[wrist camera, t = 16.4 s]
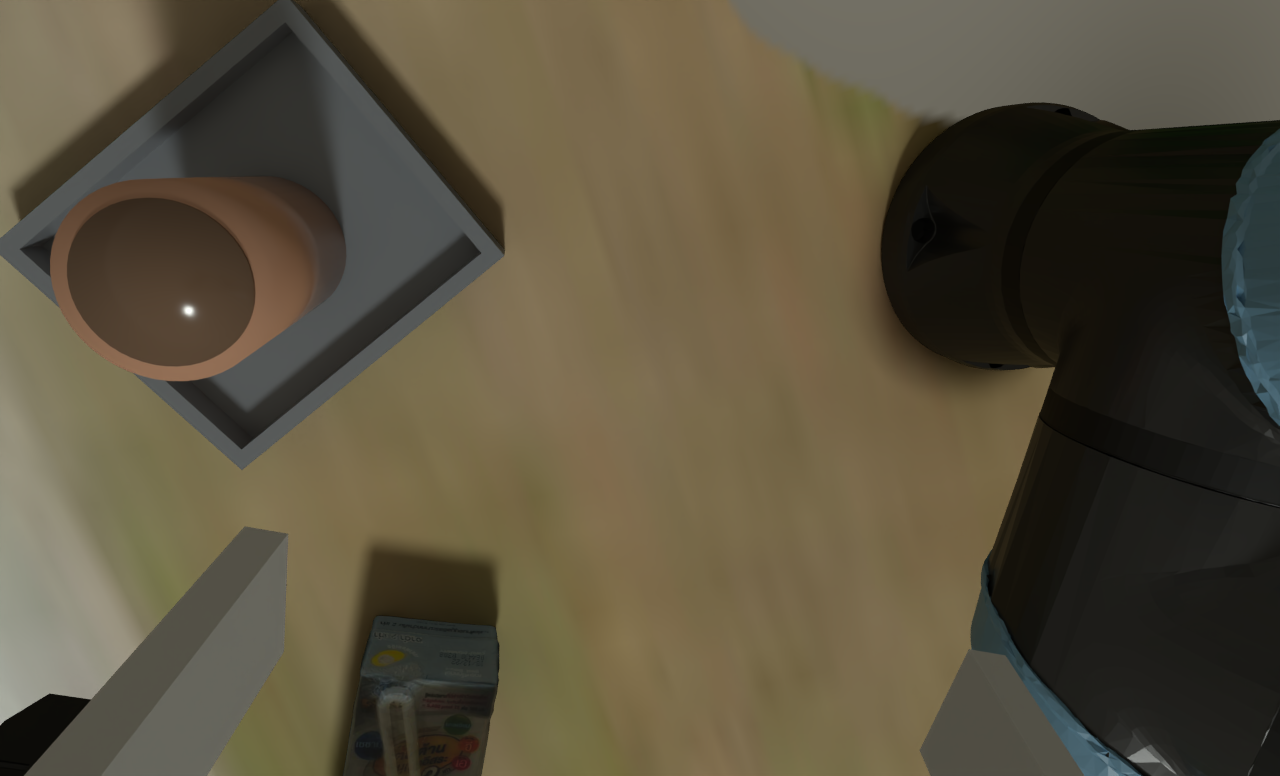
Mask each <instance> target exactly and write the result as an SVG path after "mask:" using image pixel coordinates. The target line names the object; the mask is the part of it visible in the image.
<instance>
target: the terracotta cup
mask: <svg viewBox="0 0 1280 776" xmlns="http://www.w3.org/2000/svg"><path fill="white" fill-rule="evenodd" d="M345 266H346V244H345V239H344V235H343V232H342V229H341V227H340V225H339V223H338V220H337V219H336V217H335V216H334V214H333V212H332V211H331V210H330V209H329V207H328V206H327V205H326V204H325V203H324V202H323V201H322V200H321V199H320V198H319V197H318V196H317V195H315V194H314V193H313V192H312V191H310V190H309V189H307V188H305V187H304V186H302V185H300V184H298V183H295V182H293V181H290V180H287V179H284V178H280V177H274V176H228V177H193V178H159V179H136V180H127V181H122V182H117V183H114V184H111V185H108V186H105V187H102V188H100V189H98V190H96V191H95V192H93V193H91V194H89V195H88V196H86V197H85V198H84V199H82V200H81V201H79V202H78V203H77V204H76V205H75V206H74V207H73V208H72V209H71V210H70V211H69V213H68V214H67V215H66V217H65V218H64V220H63V221H62V223H61V225H60V227H59V229H58V231H57V233H56V235H55V238H54V242H53V245H52V250H51V257H50V275H51V281H52V287H53V290H54V294H55V297H56V300H57V302H58V304H59V307H60V309H61V311H62V313H63V315H64V316H65V318H66V320H67V321H68V323H69V324H70V326H71V327H72V328H73V330H74V331H75V332H76V333H77V335H78V336H79V337H80V338H81V339H82V340H83V341H84V342H85V343H86V344H87V345H88V346H89V347H90V348H91V349H93V350H94V351H95V352H96V353H98V354H99V355H100V356H102V357H103V358H105V359H106V360H108V361H110V362H111V363H113V364H114V365H116V366H118V367H121V368H123V369H125V370H127V371H129V372H132V373H135V374H138V375H140V376H144V377H148V378H152V379H157V380H165V381H191V380H199V379H203V378H207V377H211V376H214V375H217V374H219V373H222V372H224V371H226V370H228V369H230V368H232V367H234V366H235V365H236V364H238V363H239V362H241V361H242V360H243V359H245V358H246V357H248V356H249V355H250V354H252V353H253V352H255V351H256V350H257V349H259V348H260V347H262V346H263V345H265V344H266V343H267V342H269V341H270V340H272V339H273V338H274V337H276V336H277V335H279V334H280V333H281V332H283V331H284V330H286V329H287V328H288V327H290V326H291V325H293V324H294V323H295V322H297V321H298V320H300V319H301V318H303V317H304V316H305V315H307V314H308V313H310V312H311V311H312V310H314V309H315V308H317V307H318V306H319V305H321V304H322V303H324V302H325V301H326V300H327V299H328V298H329V297H330V296H331V295H332V294H333V292H334V291H335V290H336V288H337V287H338V285H339V283H340V281H341V279H342V276H343V274H344V270H345Z"/></svg>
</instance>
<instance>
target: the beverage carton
mask: <svg viewBox="0 0 1280 776" xmlns="http://www.w3.org/2000/svg"><path fill="white" fill-rule="evenodd" d="M498 672H499V642H498V640H497V632H496V628H495V627H493V626H487V625H471V624H458V623H448V622H438V621H428V620H419V619H408V618H401V617H391V616H376V617H375V619H374V620H373V626H372V630H371V631H370V634H369V638H368V641H367V644H366V648H365V652H364V655H363V658H362V662H361V668H360V681H359V686H358V691H357V695H356V699H355V702H354V708H353V717H352V723H351V729H350V734H349V742H348V749H347V755H346V761H345V766H344V772H343V776H481V774H482V769H483V763H484V757H485V752H486V746H487V740H488V734H489V726H490V718H491V716H492V714H493V711H494V702H495V699H496V695H497V688H498V681H499V679H498Z"/></svg>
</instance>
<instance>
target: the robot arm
mask: <svg viewBox="0 0 1280 776" xmlns="http://www.w3.org/2000/svg"><path fill="white" fill-rule="evenodd" d="M882 270H883V278H884V282H885V287H886V290H887V294H888V297H889V300H890V302H891V305H892V307H893V309H894V311H895V313H896V314H897V316H898V318H899V320H900V321H901V322H902V324H903V325H904V327H905V328H906V329H907V330H908V331H909V333H910V334H911V335H912V336H913V337H914V338H916V339H917V340H918V341H919V342H920V343H921V344H923V345H924V346H926V347H927V348H929V349H931V350H932V351H934V352H936V353H938V354H940V355H942V356H945V357H947V358H949V359H952V360H954V361H956V362H959V363H962V364H964V365H967V366H971V367H975V368H981V369H986V370H1015V369H1023V368H1028V367H1034V368H1050V367H1055V370H1054V373H1053V376H1052V379H1051V382H1050V385H1049V388H1048V391H1047V394H1046V397H1045V400H1044V403H1043V406H1042V409H1041V412H1040V413H1039V416H1038V419H1037V422H1036V425H1035V428H1034V431H1033V434H1032V437H1031V440H1030V443H1029V446H1028V449H1027V452H1026V455H1025V458H1024V461H1023V464H1022V467H1021V470H1020V473H1019V476H1018V479H1017V482H1016V484H1015V487H1014V490H1013V493H1012V496H1011V498H1010V501H1009V504H1008V507H1007V510H1006V513H1005V515H1004V518H1003V521H1002V524H1001V527H1000V529H999V532H998V535H997V538H996V541H995V543H994V546H993V549H992V550H991V551H990V553H989V555H988V556H987V558H986V560H985V561H984V564H983V567H982V572H981V587H982V588H981V592H980V595H979V599H978V602H977V606H976V610H975V613H974V617H973V621H972V625H971V647H972V650H970V649H969V650H968V652H967V654H966V656H965V658H964V661H963V663H962V665H961V667H960V669H959V671H958V673H957V675H956V677H955V679H954V681H953V683H952V685H951V687H950V689H949V691H948V693H947V695H946V698H945V700H944V702H943V704H942V706H941V708H940V710H939V712H938V714H937V716H936V718H935V720H934V722H933V724H932V726H931V728H930V730H929V732H928V734H927V737H926V739H925V741H924V743H923V745H922V747H921V749H920V752H921V754H922V757H923V759H924V761H925V764H926V766H927V768H928V771H929V773H930V775H931V776H1280V120H1276V121H1261V122H1246V123H1233V124H1217V125H1203V126H1188V127H1174V128H1159V129H1146V130H1128V129H1125V128H1123V127H1121V126H1118V125H1115V124H1113V123H1110V122H1107V121H1104V120H1099V119H1097V118H1096V117H1094V116H1093V115H1090V114H1088V113H1086V112H1083V111H1081V110H1078V109H1076V108H1073V107H1069V106H1065V105H1060V104H1052V103H1025V104H1016V105H1008V106H1002V107H995V108H991V109H987V110H984V111H981V112H979V113H975V114H973V115H971V116H969V117H967V118H965V119H963V120H961V121H959V122H957V123H956V124H954V125H953V126H951V127H949V128H948V129H947V130H945V131H944V132H943V133H941V134H940V135H939V136H938V137H937V138H935V139H934V140H933V141H932V142H931V143H930V144H929V145H928V146H927V147H926V148H925V149H924V150H923V151H922V153H921V154H920V155H919V156H918V157H917V159H916V160H915V161H914V162H913V164H912V165H911V167H910V168H909V169H908V171H907V172H906V174H905V176H904V177H903V179H902V181H901V183H900V185H899V187H898V189H897V191H896V193H895V195H894V198H893V200H892V203H891V205H890V208H889V211H888V215H887V218H886V223H885V227H884V233H883V240H882ZM287 553H288V534H286V533H280V532H274V531H268V530H262V529H257V528H251V527H244V528H243V529H242V530H241V531H240V532H239V534H238V535H237V536H236V537H235V538H234V539H233V540H232V542H231V543H230V544H229V545H228V546H227V547H226V548H225V549H224V551H223V552H222V553H221V554H220V555H219V556H218V557H217V558H216V560H215V561H214V562H213V563H212V564H211V565H210V566H209V567H208V569H207V570H206V571H205V572H204V573H203V574H202V575H201V577H200V578H199V579H198V580H197V581H196V582H195V583H194V584H193V586H192V587H191V588H190V589H189V590H188V591H187V592H186V593H185V595H184V596H183V597H182V598H181V599H180V600H179V601H178V602H177V604H176V605H175V606H174V607H173V608H172V609H171V610H170V611H169V613H168V614H167V615H166V616H165V617H164V618H163V619H162V621H161V622H160V623H159V624H158V625H157V626H156V627H155V628H154V630H153V631H152V632H151V633H150V634H149V635H148V636H147V637H146V639H145V640H144V641H143V642H142V643H141V644H140V645H139V646H138V648H137V649H136V650H135V651H134V652H133V653H132V654H131V656H130V657H129V658H128V659H127V660H126V661H125V662H124V663H123V665H122V666H121V667H120V668H119V669H118V670H117V671H116V672H115V674H114V675H113V676H112V677H111V678H110V679H109V680H108V681H107V683H106V684H105V685H104V686H103V687H102V688H101V689H100V690H99V692H98V693H97V694H96V695H95V696H94V697H93V698H92V700H90V699H83V698H76V697H69V696H62V695H56V694H48V695H47V696H45V697H43V698H42V699H40V700H38V701H37V702H35V703H33V704H32V705H30V706H28V707H27V708H25V709H24V710H22V711H20V712H19V713H17V714H15V715H14V716H12V717H10V718H9V719H7V720H6V721H4V722H3V723H2V724H1V725H0V776H207V775H208V773H209V771H210V770H211V768H212V766H213V765H214V763H215V762H216V760H217V758H218V757H219V755H220V754H221V752H222V750H223V749H224V747H225V746H226V744H227V742H228V741H229V739H230V737H231V736H232V734H233V733H234V731H235V729H236V728H237V726H238V725H239V723H240V721H241V720H242V718H243V716H244V715H245V713H246V712H247V710H248V708H249V707H250V705H251V704H252V702H253V700H254V699H255V697H256V696H257V694H258V692H259V691H260V689H261V687H262V686H263V684H264V683H265V681H266V679H267V678H268V676H269V675H270V673H271V671H272V670H273V668H274V666H275V665H276V663H277V662H278V660H279V658H280V657H281V655H282V654H283V652H284V633H285V606H286V579H287Z"/></svg>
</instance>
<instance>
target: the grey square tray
mask: <svg viewBox="0 0 1280 776" xmlns="http://www.w3.org/2000/svg"><path fill="white" fill-rule="evenodd" d="M228 176H274V177H280V178H284V179H287V180H290V181H293V182H295V183H298V184H300V185H302V186H304V187H305V188H307V189H309V190H310V191H312V192H313V193H314V194H315V195H317V196H318V197H319V198H320V199H321V200H322V201H323V202H324V203H325V204H326V205H327V206H328V207H329V209H330V210H331V211H332V212H333V214H334V216H335V217H336V219H337V220H338V223H339V225H340V227H341V229H342V232H343V235H344V239H345V244H346V266H345V270H344V274H343V276H342V279H341V281H340V283H339V285H338V287H337V288H336V290H335V291H334V292H333V294H332V295H331V296H330V297H329V298H328V299H327V300H326V301H325V302H324V303H322V304H321V305H319V306H318V307H317V308H315V309H314V310H312V311H311V312H310V313H308V314H307V315H305V316H304V317H303V318H301V319H300V320H298V321H297V322H295V323H294V324H293V325H291V326H290V327H288V328H287V329H286V330H284V331H283V332H281V333H280V334H279V335H277V336H276V337H274V338H273V339H272V340H270V341H269V342H267V343H266V344H265V345H263V346H262V347H260V348H259V349H257V350H256V351H255V352H253V353H252V354H250V355H249V356H248V357H246V358H245V359H243V360H242V361H241V362H239V363H238V364H236V365H235V366H234V367H232V368H230V369H228V370H226V371H224V372H222V373H219V374H217V375H214V376H211V377H207V378H203V379H199V380H191V381H165V380H157V379H152V378H148V377H144V376H140V375H138V374H135V373H134V374H135V375H136V376H137V377H138V378H139V379H140V380H141V381H143V382H144V383H145V384H146V385H147V386H148V387H149V388H150V389H152V390H153V391H154V392H155V393H156V394H157V395H158V396H159V397H160V398H162V399H163V400H164V401H165V402H166V403H167V404H168V405H169V406H171V407H172V408H173V409H174V410H175V411H176V412H177V413H178V414H180V415H181V416H182V417H183V418H184V419H185V420H186V421H187V422H189V423H190V424H191V425H192V426H193V427H194V428H195V429H196V430H198V431H199V432H200V433H201V434H202V435H203V436H204V437H205V438H207V439H208V440H209V441H210V442H211V443H212V444H213V445H214V446H216V447H217V448H218V449H219V450H220V451H221V452H222V453H223V454H225V455H226V456H227V457H228V458H229V459H230V460H231V461H232V462H233V463H235V464H236V465H237V466H238V467H239V468H240V469H241V470H242V469H244V468H245V467H246V466H247V465H249V464H250V463H251V462H252V461H253V460H255V459H256V458H257V457H258V456H260V455H261V454H262V453H263V452H265V451H266V450H267V449H268V448H269V447H271V446H272V445H273V444H274V443H276V442H277V441H278V440H279V439H280V438H282V437H283V436H284V435H285V434H287V433H288V432H289V431H290V430H291V429H293V428H294V427H295V426H296V425H298V424H299V423H300V422H301V421H302V420H304V419H305V418H306V417H307V416H309V415H310V414H311V413H312V412H313V411H315V410H316V409H317V408H318V407H320V406H321V405H322V404H323V403H325V402H326V401H327V400H328V399H329V398H331V397H332V396H333V395H334V394H336V393H337V392H338V391H339V390H340V389H342V388H343V387H344V386H345V385H347V384H348V383H349V382H350V381H351V380H353V379H354V378H355V377H356V376H358V375H359V374H360V373H361V372H362V371H364V370H365V369H366V368H367V367H369V366H370V365H371V364H372V363H373V362H375V361H376V360H377V359H378V358H380V357H381V356H382V355H383V354H385V353H386V352H387V351H388V350H389V349H391V348H392V347H393V346H394V345H396V344H397V343H398V342H399V341H400V340H402V339H403V338H404V337H405V336H407V335H408V334H409V333H410V332H411V331H413V330H414V329H415V328H416V327H418V326H419V325H420V324H421V323H422V322H424V321H425V320H426V319H427V318H429V317H430V316H431V315H432V314H433V313H435V312H436V311H437V310H438V309H440V308H441V307H442V306H443V305H445V304H446V303H447V302H448V301H449V300H451V299H452V298H453V297H454V296H456V295H457V294H458V293H459V292H460V291H462V290H463V289H464V288H465V287H467V286H468V285H469V284H470V283H471V282H473V281H474V280H475V279H476V278H478V277H479V276H480V275H481V274H482V273H484V272H485V271H486V270H487V269H489V268H490V267H491V266H492V265H493V264H495V263H496V262H497V261H498V260H500V259H501V258H502V257H503V256H504V254H505V250H504V249H503V248H502V246H501V245H500V244H499V243H498V242H497V240H496V239H495V238H494V237H493V236H492V234H491V233H490V232H489V231H488V230H487V228H486V227H485V226H484V225H483V224H482V222H481V221H480V220H479V219H478V218H477V216H476V215H475V214H474V213H473V212H472V210H471V209H470V208H469V207H468V206H467V204H466V203H465V202H464V201H463V200H462V198H461V197H460V196H459V195H458V194H457V193H456V191H455V190H454V189H453V188H452V187H451V185H450V184H449V183H448V182H447V181H446V179H445V178H444V177H443V176H442V175H441V173H440V172H439V171H438V170H437V169H436V167H435V166H434V165H433V164H432V163H431V161H430V160H429V159H428V158H427V157H426V155H425V154H424V153H423V152H422V151H421V149H420V148H419V147H418V146H417V145H416V143H415V142H414V141H413V140H412V139H411V137H410V136H409V135H408V134H407V133H406V132H405V130H404V129H403V128H402V127H401V126H400V124H399V123H398V122H397V121H396V120H395V118H394V117H393V116H392V115H391V114H390V112H389V111H388V110H387V109H386V108H385V106H384V105H383V104H382V103H381V102H380V100H379V99H378V98H377V97H376V96H375V94H374V93H373V92H372V91H371V90H370V88H369V87H368V86H367V85H366V84H365V82H364V81H363V80H362V79H361V78H360V77H359V75H358V74H357V73H356V72H355V71H354V69H353V68H352V67H351V66H350V65H349V63H348V62H347V61H346V60H345V59H344V57H343V56H342V55H341V54H340V53H339V51H338V50H337V49H336V48H335V47H334V45H333V44H332V43H331V42H330V41H329V39H328V38H327V37H326V36H325V35H324V33H323V32H322V31H321V30H320V29H319V27H318V26H317V25H316V24H315V23H314V21H313V20H312V19H311V18H310V17H309V16H308V14H307V13H306V12H305V11H304V10H303V8H302V7H301V6H300V5H299V4H297V3H296V2H295V1H293V0H278V1H277V2H275V3H274V4H273V5H272V6H271V7H270V8H268V9H267V10H266V11H265V12H264V13H263V14H261V15H260V16H259V17H258V18H257V19H256V20H254V21H253V22H252V23H251V24H250V25H249V26H247V27H246V28H245V29H244V30H243V31H242V32H240V33H239V34H238V35H237V36H236V37H235V38H233V39H232V40H231V41H230V42H229V43H228V44H226V45H225V46H224V47H223V48H222V49H221V50H219V51H218V52H217V53H216V54H215V55H214V56H212V57H211V58H210V59H209V60H208V61H207V62H205V63H204V64H203V65H202V66H201V67H200V68H198V69H197V70H196V71H195V72H194V73H193V74H191V75H190V76H189V77H188V78H187V79H186V80H184V81H183V82H182V83H181V84H180V85H179V86H177V87H176V88H175V89H174V90H173V91H172V92H170V93H169V94H168V95H167V96H166V97H165V98H163V99H162V100H161V101H160V102H159V103H158V104H156V105H155V106H154V107H153V108H152V109H151V110H149V111H148V112H147V113H146V114H145V115H144V116H142V117H141V118H140V119H139V120H138V121H137V122H135V123H134V124H133V125H132V126H131V127H130V128H128V129H127V130H126V131H125V132H124V133H123V134H121V135H120V136H119V137H118V138H117V139H116V140H114V141H113V142H112V143H111V144H110V145H109V146H107V147H106V148H105V149H104V150H103V151H102V152H100V153H99V154H98V155H97V156H96V157H95V158H93V159H92V160H91V161H90V162H89V163H88V164H86V165H85V166H84V167H83V168H82V169H81V170H79V171H78V172H77V173H76V174H75V175H74V176H72V177H71V178H70V179H69V180H68V181H67V182H65V183H64V184H63V185H62V186H61V187H60V188H58V189H57V190H56V191H55V192H54V193H53V194H51V195H50V196H49V197H48V198H47V199H46V200H44V201H43V202H42V203H41V204H40V205H39V206H37V207H36V208H35V209H34V210H33V211H32V212H30V213H29V214H28V215H27V216H26V217H25V218H23V219H22V220H21V221H20V222H19V223H18V224H16V225H15V226H14V227H13V228H12V229H11V230H9V231H8V232H7V233H6V234H5V235H4V236H2V237H1V238H0V255H1V256H2V257H3V258H4V259H6V260H7V261H8V262H9V263H10V264H11V265H12V266H13V267H15V268H16V269H17V270H18V271H19V272H20V273H21V274H22V275H24V276H25V277H26V278H27V279H28V280H29V281H30V282H31V283H32V284H34V285H35V286H36V287H37V288H38V289H39V290H40V291H41V292H43V293H44V294H45V295H46V296H47V297H48V298H49V299H50V300H52V301H53V302H54V303H55V304H56V305H57V306H58V307H59V304H58V302H57V300H56V297H55V294H54V290H53V287H52V281H51V275H50V257H51V250H52V245H53V242H54V238H55V235H56V233H57V231H58V229H59V227H60V225H61V223H62V221H63V220H64V218H65V217H66V215H67V214H68V213H69V211H70V210H71V209H72V208H73V207H74V206H75V205H76V204H77V203H78V202H79V201H81V200H82V199H84V198H85V197H86V196H88V195H89V194H91V193H93V192H95V191H96V190H98V189H100V188H102V187H105V186H108V185H111V184H114V183H117V182H122V181H127V180H136V179H159V178H193V177H228ZM59 308H60V307H59Z"/></svg>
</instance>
